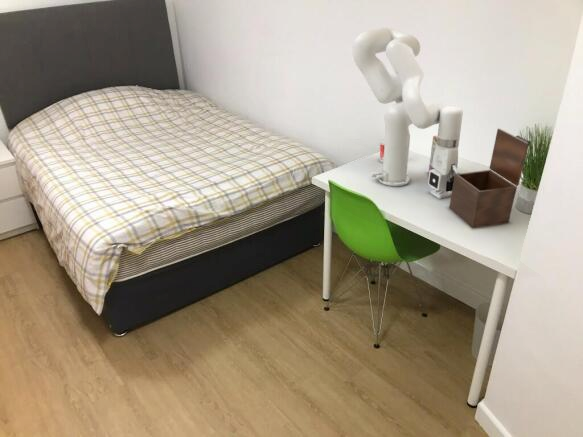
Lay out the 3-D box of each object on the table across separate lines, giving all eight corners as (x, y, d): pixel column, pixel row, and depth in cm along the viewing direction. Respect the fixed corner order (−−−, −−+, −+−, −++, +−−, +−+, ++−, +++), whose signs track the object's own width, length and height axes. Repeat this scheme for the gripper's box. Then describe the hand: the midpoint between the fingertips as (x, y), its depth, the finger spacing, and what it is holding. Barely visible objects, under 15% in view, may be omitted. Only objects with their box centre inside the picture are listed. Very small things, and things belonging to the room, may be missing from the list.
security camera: (426, 193, 178) (429, 169, 173) (441, 189, 181) (444, 166, 176) (436, 199, 173) (440, 175, 168) (451, 196, 176) (456, 172, 171)
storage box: (472, 228, 155) (479, 192, 148) (449, 208, 168) (454, 174, 161) (508, 222, 158) (517, 187, 151) (483, 203, 170) (490, 169, 164)
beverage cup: (383, 164, 204) (385, 133, 197) (375, 159, 209) (377, 129, 202) (394, 161, 206) (397, 131, 199) (387, 157, 211) (389, 127, 204)
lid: (526, 143, 144) (542, 141, 145) (497, 128, 156) (512, 127, 157) (516, 186, 151) (531, 184, 152) (489, 168, 163) (503, 166, 165)
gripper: (426, 136, 173) (422, 178, 181) (451, 150, 158) (445, 196, 166) (444, 133, 174) (440, 175, 183) (471, 148, 160) (464, 193, 168)
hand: (442, 185), depth 174 cm, fingers open, 9 cm apart
